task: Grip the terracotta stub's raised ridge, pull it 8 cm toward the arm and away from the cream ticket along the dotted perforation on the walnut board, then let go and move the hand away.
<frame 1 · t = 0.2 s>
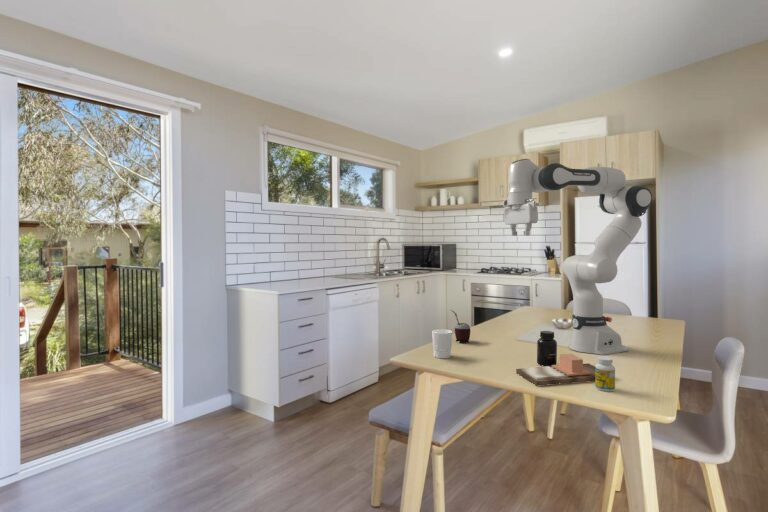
hand: (520, 235, 168), 47 cm above the table, tool pointing down, fingers open, 8 cm apart
supplement bottle: (546, 364, 156), on the table
stub: (570, 363, 143), point 4 cm above the table, slide at 0.0 cm
mate gourd: (461, 342, 191), on the table
supplement bottle 2: (604, 389, 131), on the table
white cup: (442, 356, 169), on the table
ticket board: (558, 376, 142), on the table
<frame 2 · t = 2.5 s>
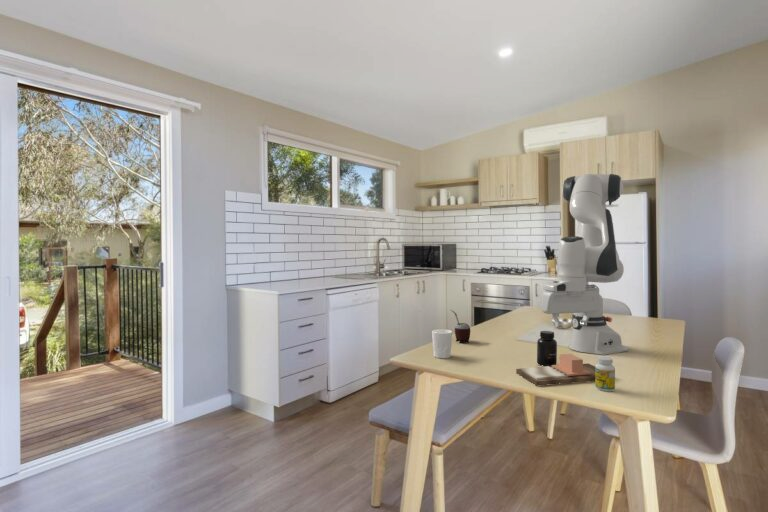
hand: (570, 326, 142), 17 cm above the table, tool pointing down, fingers open, 8 cm apart
nothing on the table moved.
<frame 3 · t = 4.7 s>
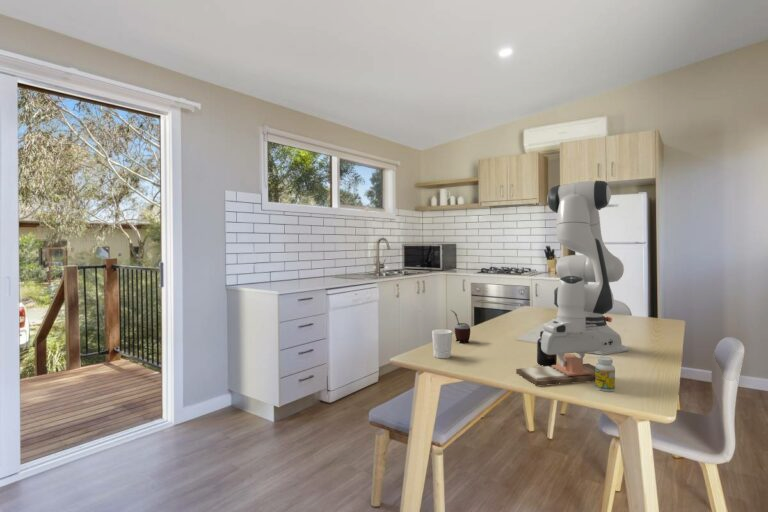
hand: (570, 365, 143), 4 cm above the table, tool pointing down, fingers closed on stub, 4 cm apart
stub: (570, 363, 143), point 4 cm above the table, slide at 0.0 cm, touching gripper
everything else where it was.
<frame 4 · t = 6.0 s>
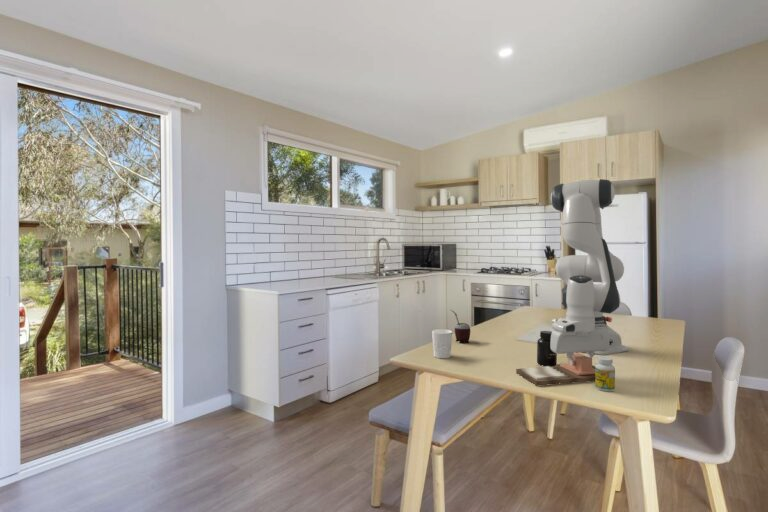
hand: (579, 364, 144), 4 cm above the table, tool pointing down, fingers closed on stub, 4 cm apart
stub: (580, 363, 144), point 4 cm above the table, slide at 3.5 cm, touching gripper
everything else where it was.
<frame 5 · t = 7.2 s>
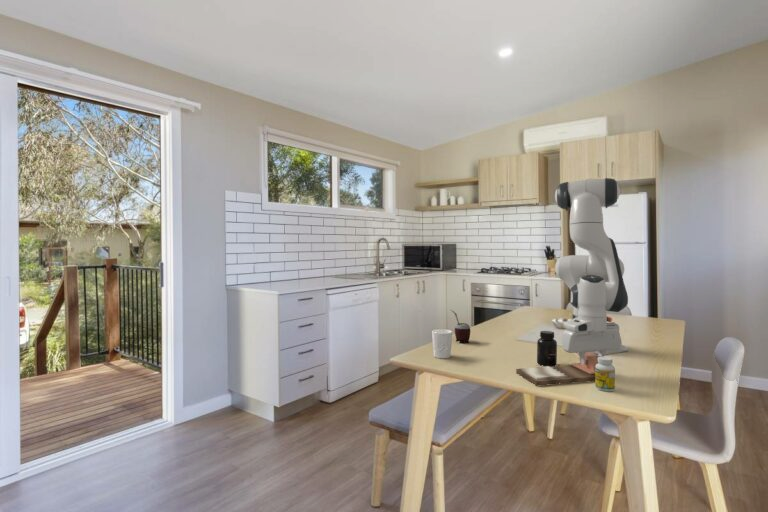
hand: (591, 363, 145), 3 cm above the table, tool pointing down, fingers closed on stub, 4 cm apart
stub: (591, 362, 144), point 4 cm above the table, slide at 7.9 cm, touching gripper
everything else where it was.
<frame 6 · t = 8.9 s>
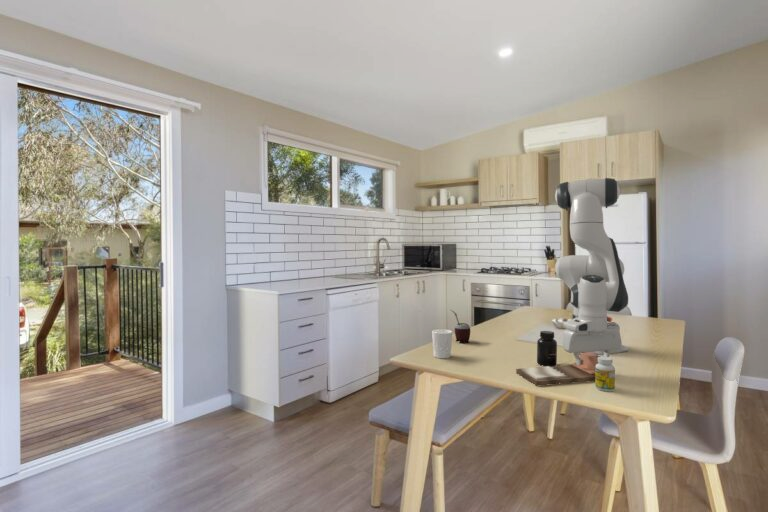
hand: (592, 363, 145), 4 cm above the table, tool pointing down, fingers open, 8 cm apart
stub: (591, 362, 144), point 4 cm above the table, slide at 8.0 cm
everything else where it was.
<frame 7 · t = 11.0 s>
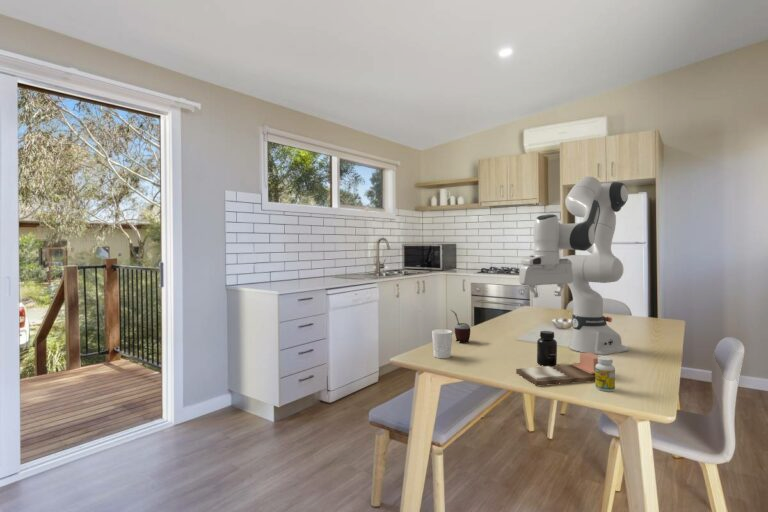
hand: (546, 296, 156), 25 cm above the table, tool pointing down, fingers open, 8 cm apart
nothing on the table moved.
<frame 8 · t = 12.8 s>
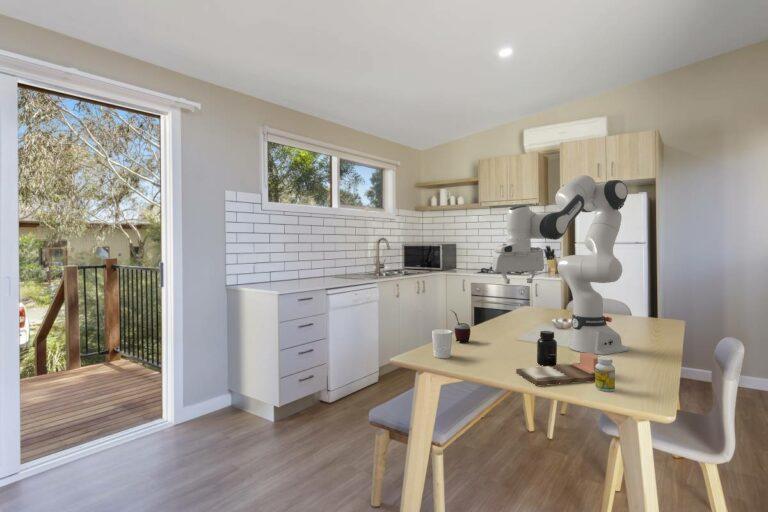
hand: (518, 283, 164), 29 cm above the table, tool pointing down, fingers open, 8 cm apart
nothing on the table moved.
at the end: stub slide at 8.0 cm; the gripper is holding nothing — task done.
